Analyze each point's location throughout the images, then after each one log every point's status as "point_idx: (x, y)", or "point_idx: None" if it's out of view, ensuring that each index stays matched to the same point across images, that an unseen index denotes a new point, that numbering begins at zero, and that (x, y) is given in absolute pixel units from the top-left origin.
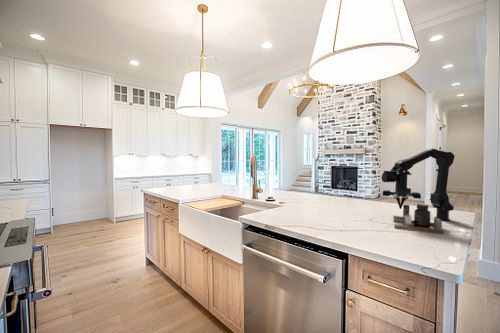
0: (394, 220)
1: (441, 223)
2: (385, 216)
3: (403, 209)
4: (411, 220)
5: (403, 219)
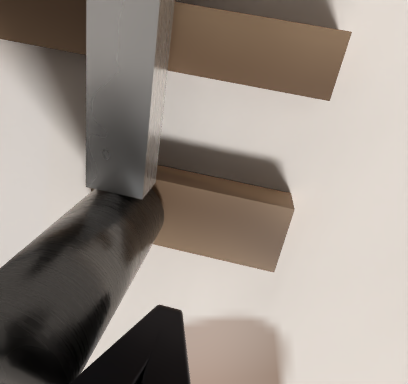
0: (336, 32)
1: None
2: (345, 312)
3: (117, 283)
4: (80, 46)
5: (172, 174)
